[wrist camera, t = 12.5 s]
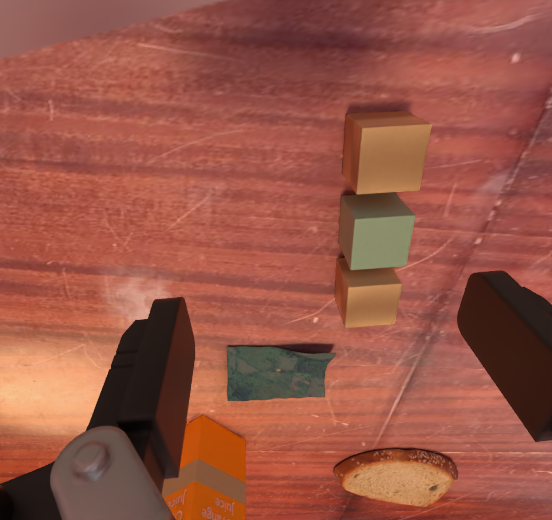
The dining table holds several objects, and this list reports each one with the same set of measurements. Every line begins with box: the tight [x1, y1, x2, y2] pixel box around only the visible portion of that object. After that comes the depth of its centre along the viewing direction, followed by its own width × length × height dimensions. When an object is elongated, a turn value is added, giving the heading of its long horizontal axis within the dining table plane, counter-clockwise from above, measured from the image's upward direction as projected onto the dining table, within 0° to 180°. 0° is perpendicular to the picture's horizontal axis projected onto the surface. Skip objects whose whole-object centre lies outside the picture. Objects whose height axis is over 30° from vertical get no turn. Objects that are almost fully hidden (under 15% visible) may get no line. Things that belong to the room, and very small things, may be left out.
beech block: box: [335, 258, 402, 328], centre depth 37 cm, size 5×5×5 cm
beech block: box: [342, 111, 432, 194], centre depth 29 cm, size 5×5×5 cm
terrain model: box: [227, 346, 336, 401], centre depth 45 cm, size 13×8×2 cm, turn 86°
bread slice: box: [334, 449, 458, 507], centre depth 60 cm, size 18×18×4 cm
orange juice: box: [162, 415, 246, 520], centre depth 44 cm, size 8×9×20 cm
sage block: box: [338, 192, 415, 270], centre depth 33 cm, size 5×5×5 cm
